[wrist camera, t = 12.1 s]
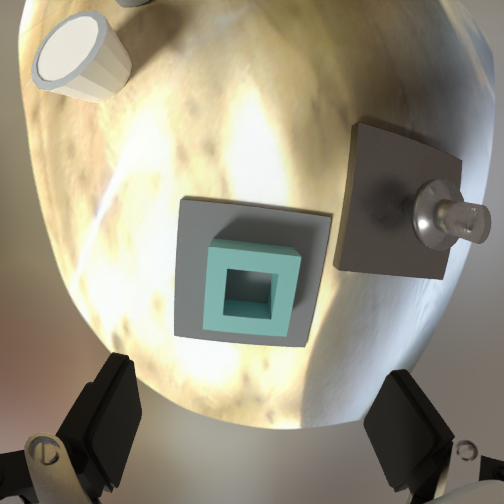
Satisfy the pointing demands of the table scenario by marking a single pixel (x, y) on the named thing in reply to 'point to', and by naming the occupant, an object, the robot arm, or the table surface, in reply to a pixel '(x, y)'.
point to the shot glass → (82, 59)
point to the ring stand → (403, 207)
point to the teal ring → (244, 312)
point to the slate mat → (240, 281)
